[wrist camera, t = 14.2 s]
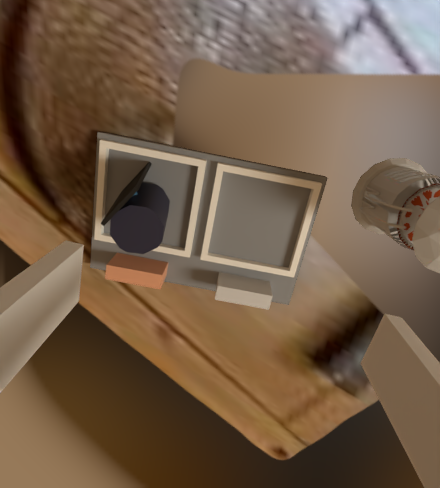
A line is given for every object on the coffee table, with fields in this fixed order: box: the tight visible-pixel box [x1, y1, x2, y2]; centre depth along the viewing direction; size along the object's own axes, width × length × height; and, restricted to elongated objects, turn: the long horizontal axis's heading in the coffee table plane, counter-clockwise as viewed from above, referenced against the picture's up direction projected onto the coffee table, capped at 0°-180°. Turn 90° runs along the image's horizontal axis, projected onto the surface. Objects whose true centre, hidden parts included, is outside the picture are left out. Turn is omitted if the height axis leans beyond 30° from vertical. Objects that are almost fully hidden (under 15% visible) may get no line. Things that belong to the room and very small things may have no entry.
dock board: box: [90, 132, 327, 310], centre depth 42 cm, size 18×28×5 cm, turn 79°
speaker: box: [101, 162, 170, 254], centre depth 37 cm, size 8×6×10 cm
